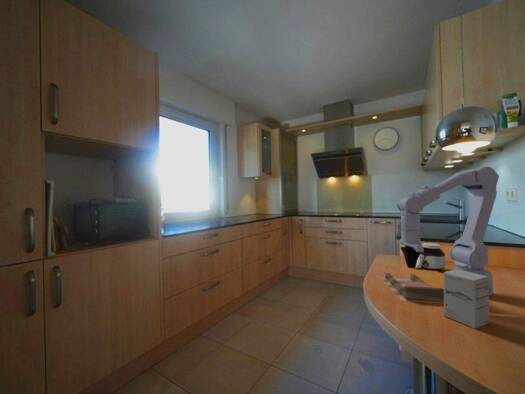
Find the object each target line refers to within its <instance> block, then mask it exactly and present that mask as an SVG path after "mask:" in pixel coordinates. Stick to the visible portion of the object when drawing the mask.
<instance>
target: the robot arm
mask: <svg viewBox="0 0 525 394" xmlns="http://www.w3.org/2000/svg"><path fill="white" fill-rule="evenodd" d="M499 178H500V175H499V174H498V173H497V172H496V170H495V169H494V168H492V167H491V166H483V167H479V168H471V169H462V170H460V171H458V172H455V173H453V175H451V176H449V177H448V178H446V179H444V180H443V181H441V182H439V183H437V184H436V185H434V186H432V185H423V186H422V187H421V189H420V190H417V191H416V192H411V193H409V196H404V197H402V198H401V199H399V201H398V204H396V207H397V209H398V211H399V212H400V226H401V227H400V228H401V229H400V230H401V231H400V232H401V238H399V241H397V244H399V245H403V246H400V250H401V252H402V254H403V257H404V260H405V264H406V267H407V268H408V269H416V268H415V267H416V263H417V260H418V257H419V255H420V254H421V253H422V252H424V247H423V246H422V243H421V215H420V213H421V212H422V211H423V210H424V208H425V207H426V206H428V205H430V204H432V203H435V202H436V201H438V200H439V199H441V195H442V194H443V193H446V192H448V191H450V190H453V189H455V188H457V187H459V186H461V187H462V188H464V189H465V190H467V191H468V192H469V193H470V194H471V195H472V196H473V200H472V203H471V206H470V209H469V213H468V216H467V221H466V223H465V227H464V229H463V233H462V236H461V237H459V238H458V239H456V240H455V241H454V244H453V246H452V247H450V249H449V257H450V259H451V260H452V261H453V264H454V270H455V269H459V270H463V271H467V272H471V273H475V274H479V275H484V276H488V277H489V297H490V296H493V295H495V293H494V287H493V285H494V283H493V282H494V280H493V274H492V272H491V271H490V270H489V269H488V270H487V269H485V267H486V266H487V265H488V263H489V257H488V253H489V248H488V247H487V246H486V244H484V242H483V241H484V238H485V234H486V231H487V228H488V225H489V221H490V219H491V215H492V212H493V208H494V204H495V201H496V200H497V199H496V198H497V194H498V193H497V192H498V191H497V185H498V181H499Z"/></svg>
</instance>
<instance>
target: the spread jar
mask: <svg viewBox="0 0 525 394" xmlns="http://www.w3.org/2000/svg"><path fill="white" fill-rule="evenodd" d="M421 245H422V246H423V247H424V252H422V253H421V254H420V255H419V257H418V260H417V263H416V267H415V268H414V269H416V268H417V270H418V269H419V268H422V269H423V268H424V269H423V270H425V269H427V270H426V271H436V272H441V271H443V270H444V269H445V268H446V267H447V265H446V263H447V259H446V253H445V252H444V251H443V250H442V249H441V244H439V243H435V242H433V243H432V242H424V243H421Z"/></svg>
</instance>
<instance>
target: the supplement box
mask: <svg viewBox="0 0 525 394" xmlns="http://www.w3.org/2000/svg"><path fill="white" fill-rule="evenodd" d="M443 289H444V304H443V316H444V317H445V318H449V319H451V320H454V321H456V322H459V323H461V324H463V325H465V326H468V327H470V328H471V329H475V330H476V329H478V328H480V327H483V326H485V325H488V324H489V323H490V296H489V277H488V276H484V275H479V274H475V273H471V272H467V271H463V270H459V269H455V268H454V269H451V270H447V271H444V272H443Z"/></svg>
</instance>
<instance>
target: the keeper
mask: <svg viewBox="0 0 525 394" xmlns="http://www.w3.org/2000/svg"><path fill="white" fill-rule="evenodd" d="M425 282H426V281H424V282H413V281H405V286H412V287H429V288H432V287H433V286H431V285H430V284H428V283H427V282H426V283H425ZM429 285H430V286H429Z"/></svg>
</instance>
